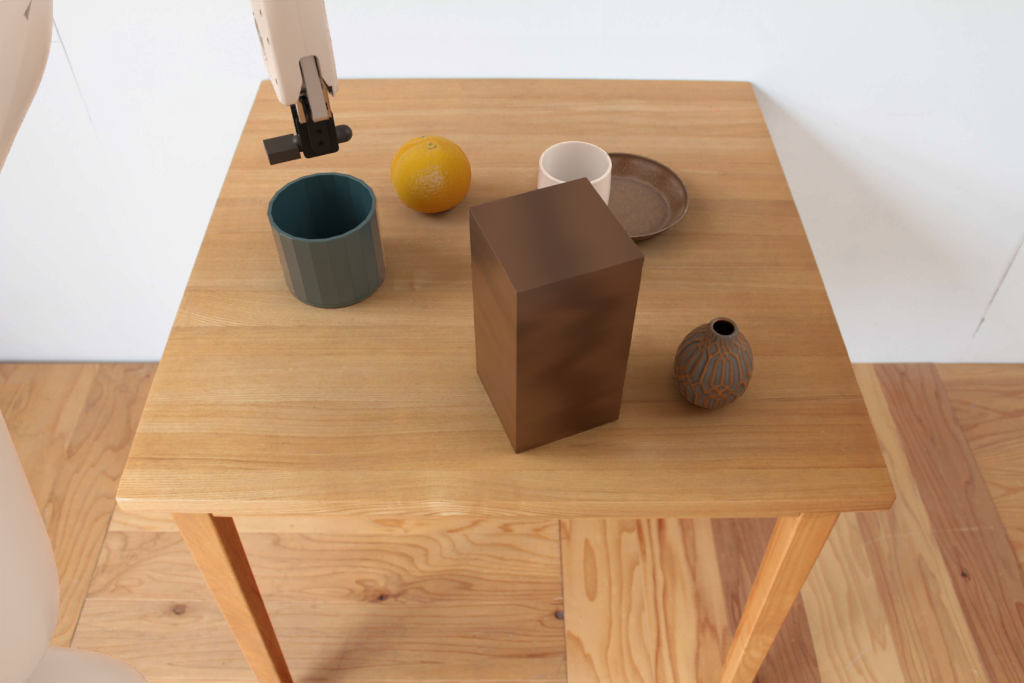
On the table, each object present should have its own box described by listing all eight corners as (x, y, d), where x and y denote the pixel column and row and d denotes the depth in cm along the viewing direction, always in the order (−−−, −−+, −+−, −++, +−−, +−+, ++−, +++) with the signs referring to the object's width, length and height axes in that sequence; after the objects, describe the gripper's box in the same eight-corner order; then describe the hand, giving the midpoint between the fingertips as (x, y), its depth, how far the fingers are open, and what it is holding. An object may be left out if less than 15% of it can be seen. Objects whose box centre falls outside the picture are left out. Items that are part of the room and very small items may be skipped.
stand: (515, 454, 74) (516, 293, 59) (476, 371, 80) (468, 206, 65) (618, 419, 77) (645, 256, 62) (573, 342, 83) (586, 176, 68)
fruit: (449, 171, 100) (445, 112, 94) (485, 208, 96) (483, 149, 90) (382, 197, 97) (374, 138, 91) (415, 236, 93) (409, 177, 87)
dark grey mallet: (270, 165, 76) (266, 150, 75) (265, 150, 77) (261, 135, 76) (356, 145, 78) (354, 131, 77) (350, 131, 79) (347, 116, 78)
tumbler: (298, 319, 85) (279, 253, 78) (276, 253, 91) (258, 186, 84) (398, 292, 87) (388, 225, 81) (371, 229, 94) (360, 162, 87)
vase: (665, 360, 81) (679, 296, 75) (738, 362, 81) (758, 298, 74) (672, 419, 77) (686, 356, 70) (749, 421, 77) (771, 359, 70)
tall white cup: (601, 304, 86) (615, 185, 75) (534, 303, 86) (538, 184, 75) (598, 258, 91) (610, 140, 79) (534, 257, 91) (538, 139, 79)
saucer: (656, 161, 102) (659, 142, 100) (706, 241, 92) (711, 222, 90) (538, 181, 99) (538, 162, 97) (576, 266, 90) (578, 247, 88)
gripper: (209, -90, 68) (261, 109, 82) (245, 0, 58) (296, 208, 72) (303, -105, 70) (338, 93, 83) (352, -20, 60) (382, 187, 74)
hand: (318, 145), depth 78 cm, fingers closed on dark grey mallet, 1 cm apart
